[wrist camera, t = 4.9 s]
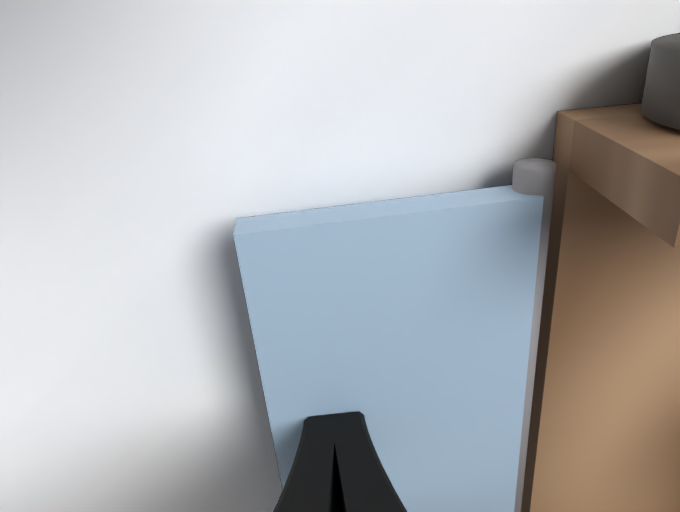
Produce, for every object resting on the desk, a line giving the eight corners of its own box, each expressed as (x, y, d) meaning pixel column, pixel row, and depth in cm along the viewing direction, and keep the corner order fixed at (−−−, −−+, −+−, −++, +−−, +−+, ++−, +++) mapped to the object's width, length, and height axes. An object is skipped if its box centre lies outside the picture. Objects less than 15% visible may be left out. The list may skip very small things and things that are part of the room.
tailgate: (566, 169, 10) (228, 209, 10) (521, 572, 16) (305, 608, 15) (539, 151, 11) (232, 188, 11) (505, 535, 17) (303, 568, 17)
